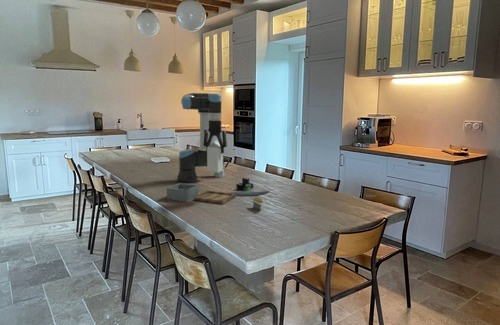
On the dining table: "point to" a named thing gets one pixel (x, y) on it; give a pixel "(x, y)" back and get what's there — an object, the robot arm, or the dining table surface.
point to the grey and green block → (257, 203)
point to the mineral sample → (246, 188)
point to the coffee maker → (221, 173)
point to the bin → (182, 192)
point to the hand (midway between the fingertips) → (215, 158)
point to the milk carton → (214, 157)
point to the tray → (215, 197)
